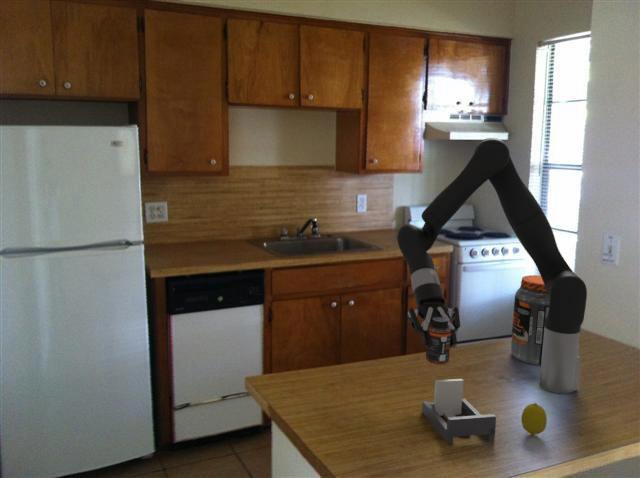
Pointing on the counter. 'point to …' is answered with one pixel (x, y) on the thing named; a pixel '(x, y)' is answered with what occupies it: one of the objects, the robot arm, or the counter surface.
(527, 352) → the supplement tub
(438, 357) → the supplement bottle
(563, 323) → the robot arm
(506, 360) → the counter surface
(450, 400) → the plate
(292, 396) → the counter surface
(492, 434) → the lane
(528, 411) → the lemon
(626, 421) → the counter surface
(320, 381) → the counter surface
